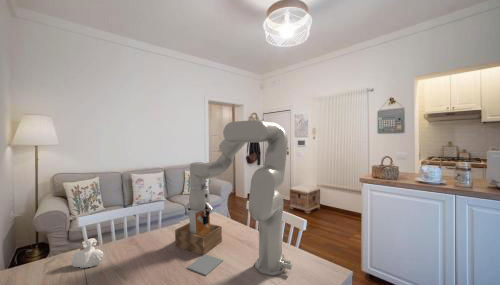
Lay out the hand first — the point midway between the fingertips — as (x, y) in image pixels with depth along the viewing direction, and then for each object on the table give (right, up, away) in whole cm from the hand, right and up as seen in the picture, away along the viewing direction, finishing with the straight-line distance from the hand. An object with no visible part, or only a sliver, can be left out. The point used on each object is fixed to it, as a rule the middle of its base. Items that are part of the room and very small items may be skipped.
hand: (199, 222), depth 107 cm
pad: (+6, -12, -17) cm, 21 cm away
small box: (0, -7, 0) cm, 7 cm away
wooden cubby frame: (-1, -11, +1) cm, 11 cm away
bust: (-44, -12, -15) cm, 48 cm away
